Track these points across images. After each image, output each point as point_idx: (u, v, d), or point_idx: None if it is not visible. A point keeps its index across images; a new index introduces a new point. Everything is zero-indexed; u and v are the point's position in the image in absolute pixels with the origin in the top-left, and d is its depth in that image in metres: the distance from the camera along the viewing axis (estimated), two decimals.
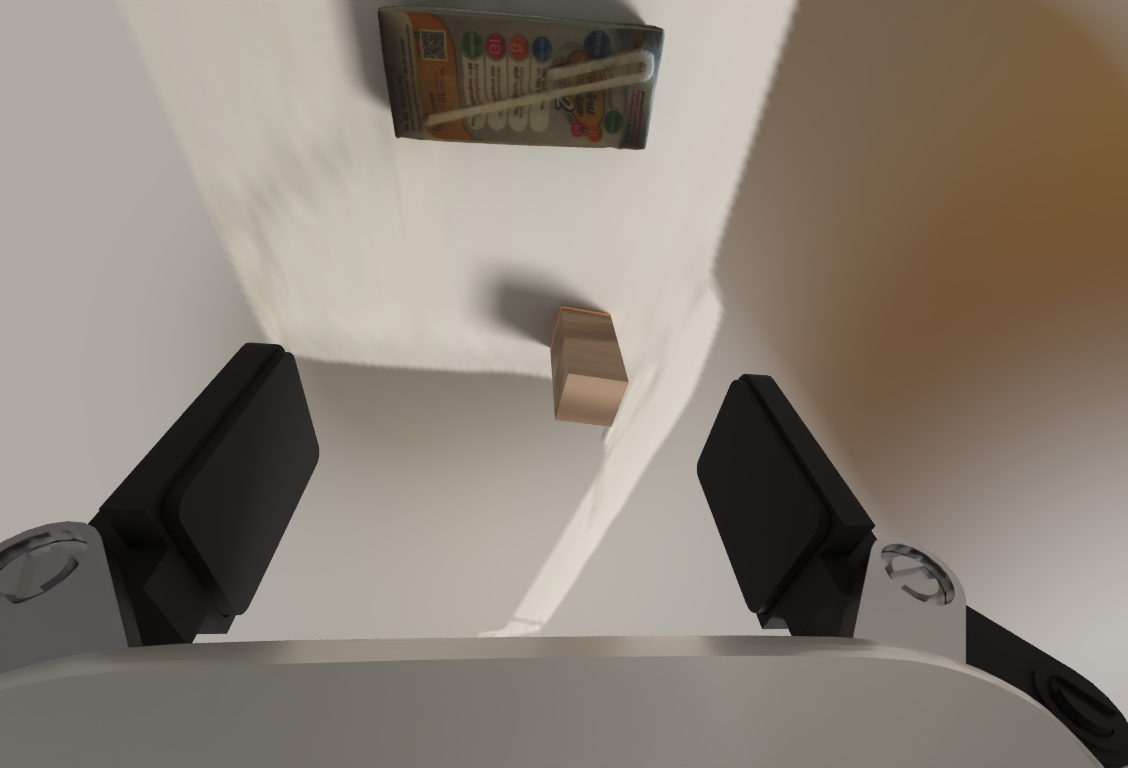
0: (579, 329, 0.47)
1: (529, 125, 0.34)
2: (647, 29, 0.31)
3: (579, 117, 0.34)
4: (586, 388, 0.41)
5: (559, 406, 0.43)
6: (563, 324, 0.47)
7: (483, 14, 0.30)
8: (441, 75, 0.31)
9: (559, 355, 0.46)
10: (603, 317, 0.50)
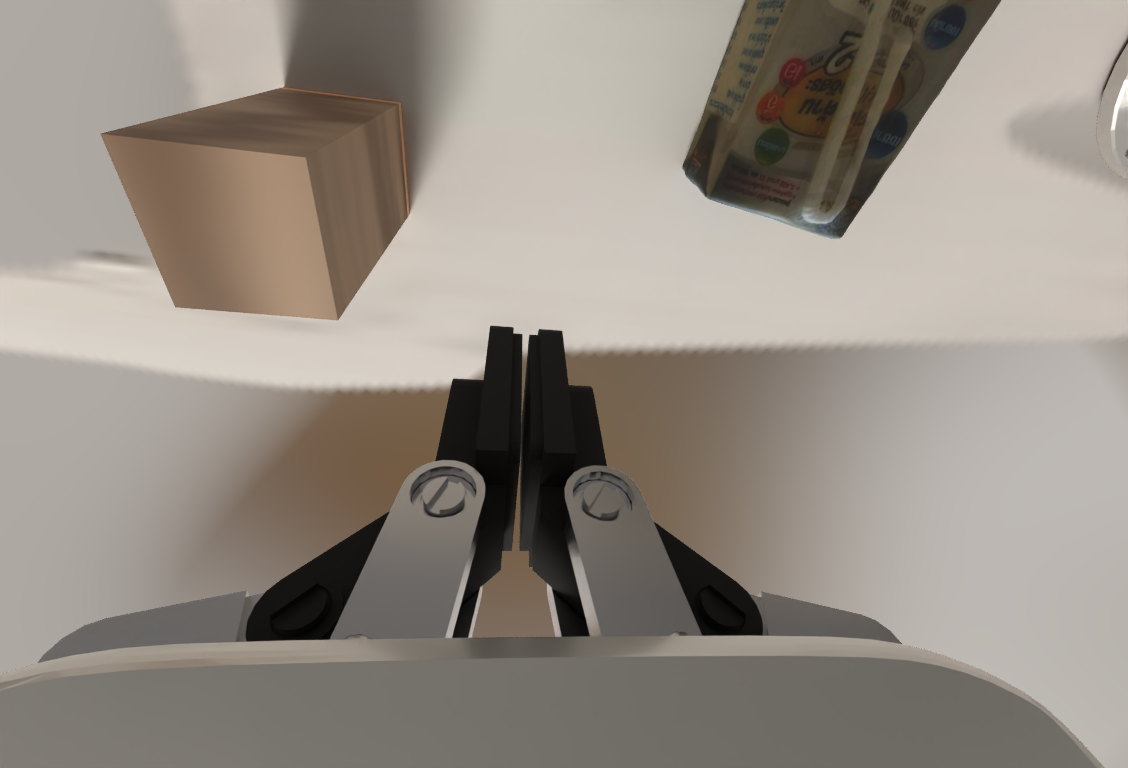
0: (382, 157, 0.21)
1: None
2: (854, 216, 0.22)
3: (808, 79, 0.19)
4: (275, 220, 0.15)
5: (165, 143, 0.13)
6: (379, 116, 0.20)
7: None
8: None
9: (305, 116, 0.18)
10: (404, 203, 0.25)
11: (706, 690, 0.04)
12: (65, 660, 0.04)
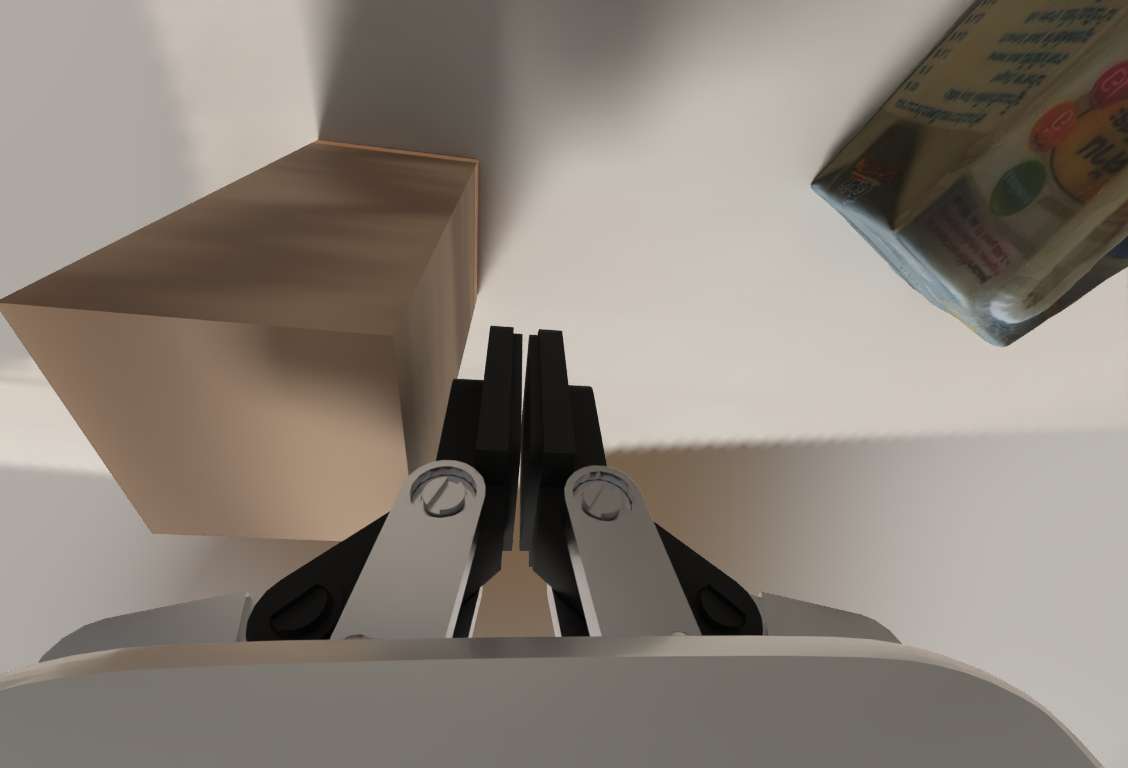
0: (462, 248, 0.14)
1: None
2: None
3: (1121, 106, 0.12)
4: (327, 425, 0.08)
5: (123, 315, 0.07)
6: None
7: None
8: None
9: (362, 205, 0.12)
10: (474, 290, 0.19)
11: (706, 691, 0.04)
12: (65, 660, 0.04)
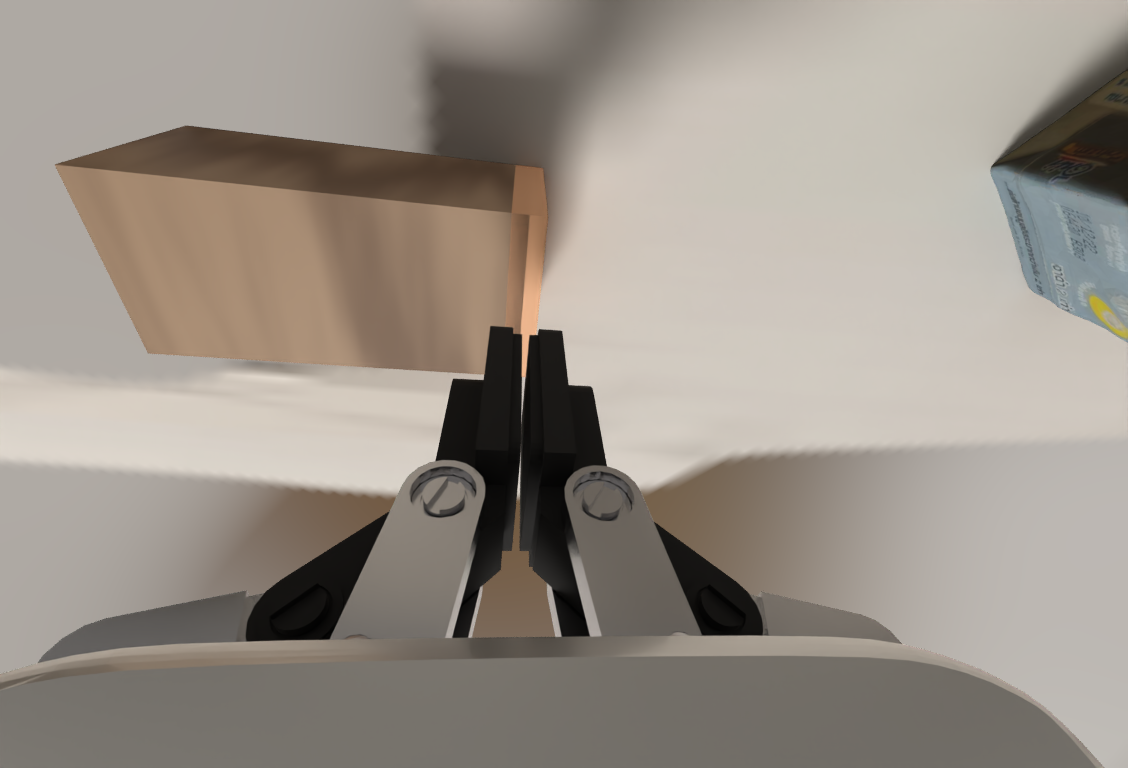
0: (392, 259, 0.13)
1: None
2: None
3: None
4: None
5: None
6: (406, 204, 0.12)
7: None
8: None
9: (335, 170, 0.14)
10: None
11: (706, 690, 0.04)
12: (66, 660, 0.04)
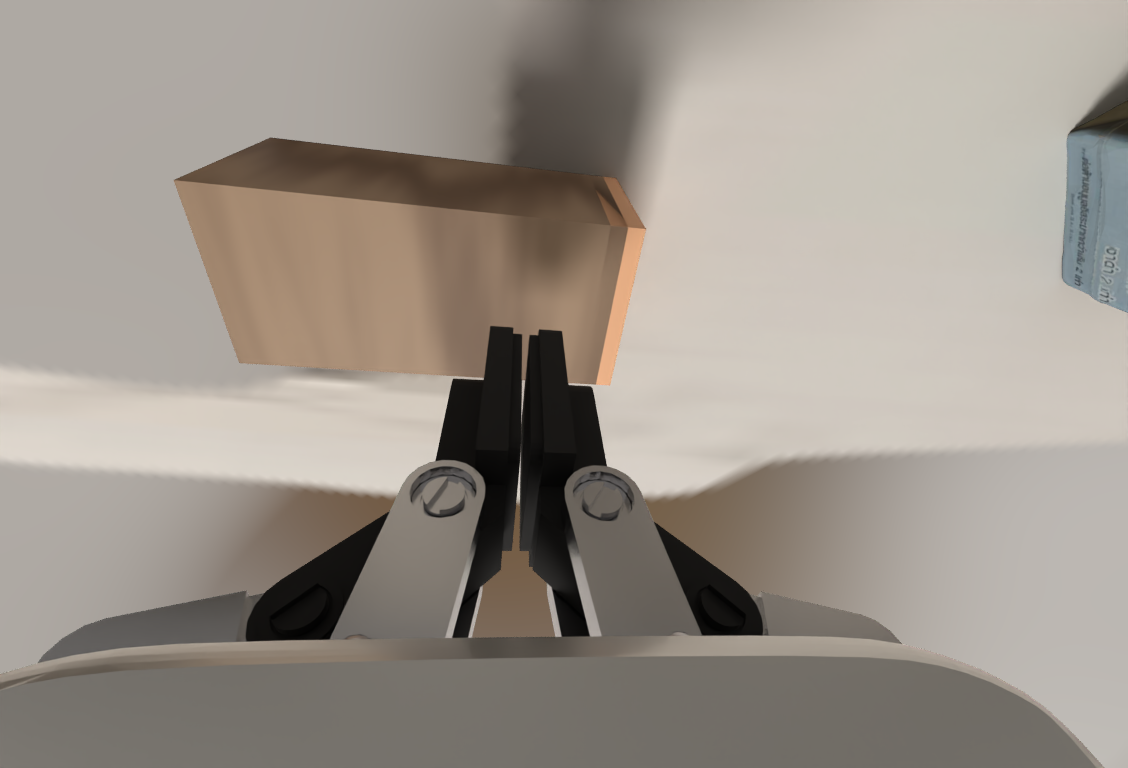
0: (489, 271, 0.13)
1: None
2: None
3: None
4: None
5: None
6: (509, 217, 0.13)
7: None
8: None
9: (429, 183, 0.14)
10: (584, 362, 0.16)
11: (706, 690, 0.04)
12: (65, 660, 0.04)
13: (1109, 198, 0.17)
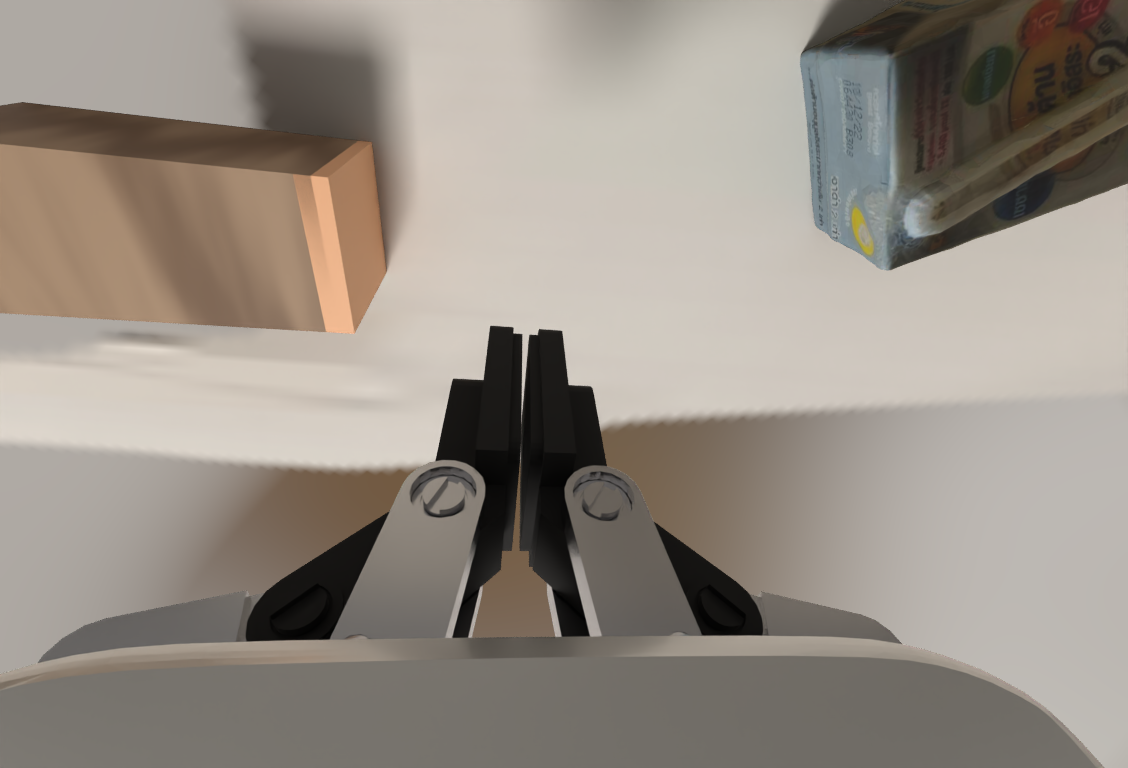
0: (191, 218, 0.14)
1: None
2: None
3: (1079, 40, 0.14)
4: None
5: None
6: (191, 166, 0.14)
7: None
8: None
9: (143, 139, 0.15)
10: (320, 310, 0.17)
11: (706, 690, 0.04)
12: (65, 660, 0.04)
13: (827, 121, 0.18)
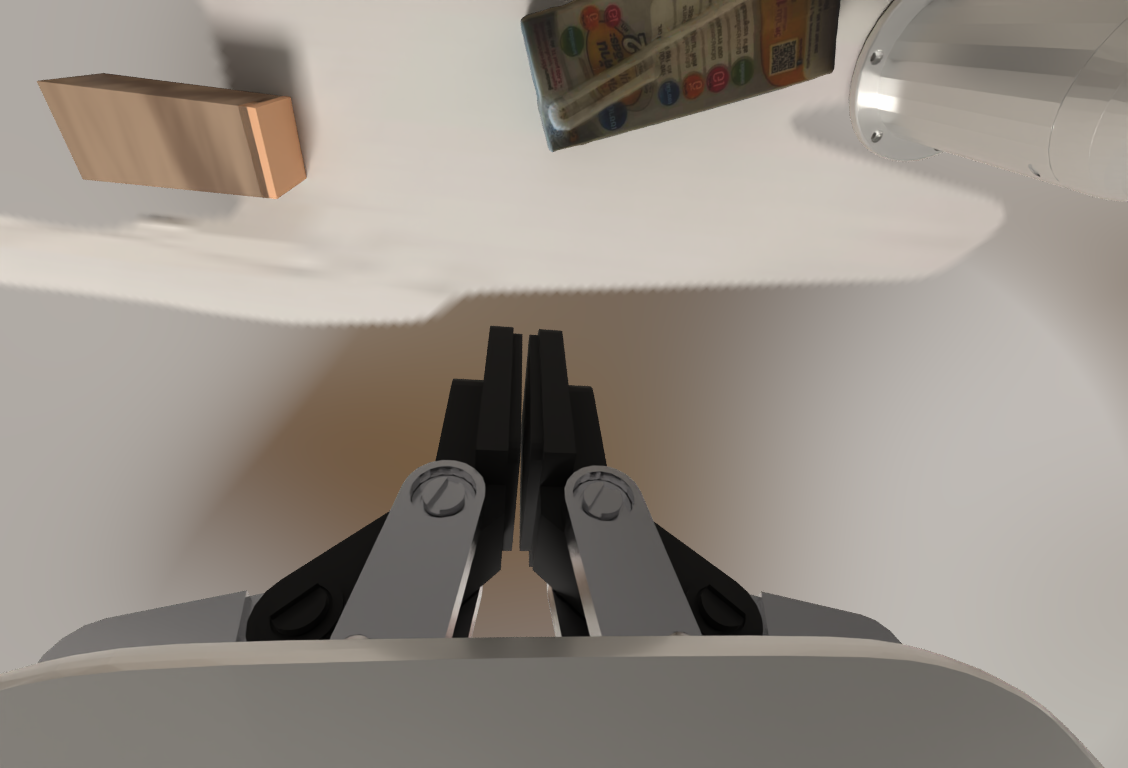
0: (189, 128, 0.29)
1: (672, 0, 0.27)
2: (567, 147, 0.32)
3: (614, 32, 0.28)
4: None
5: (87, 76, 0.31)
6: (189, 101, 0.29)
7: (728, 103, 0.30)
8: (778, 26, 0.28)
9: (166, 90, 0.30)
10: (257, 183, 0.32)
11: (706, 690, 0.04)
12: (65, 660, 0.04)
13: None
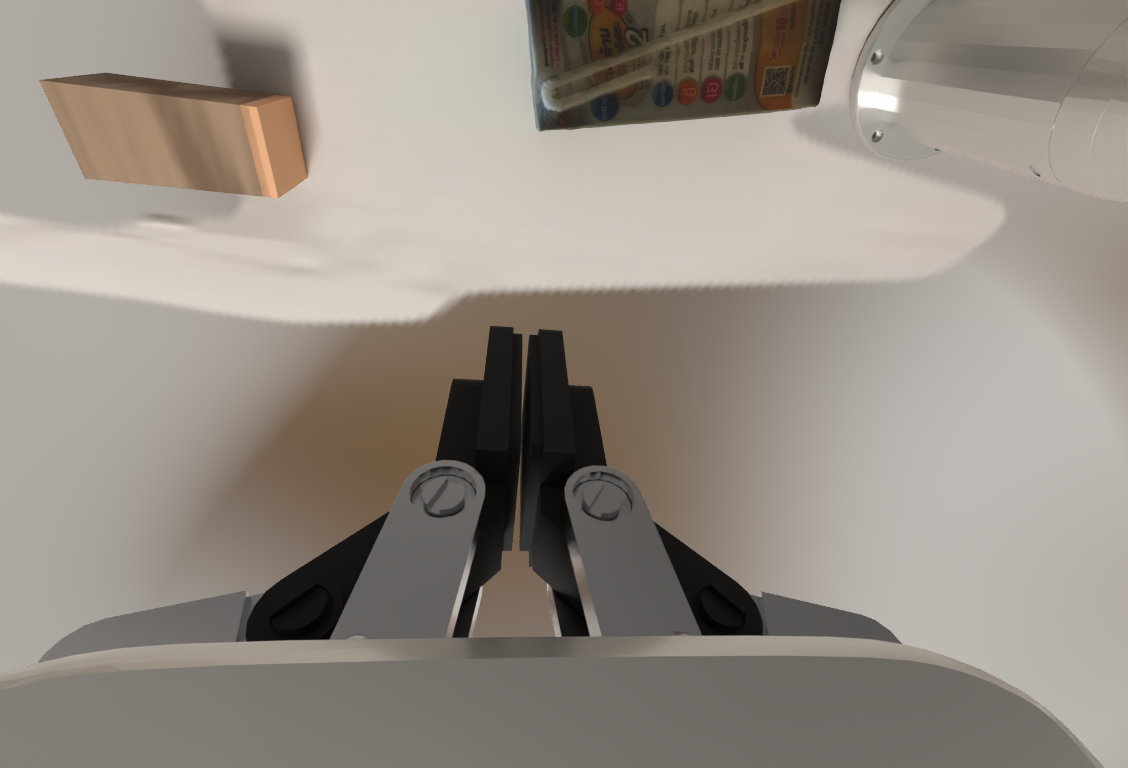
0: (191, 128, 0.30)
1: (679, 2, 0.27)
2: (555, 129, 0.31)
3: (618, 21, 0.28)
4: None
5: (89, 76, 0.31)
6: (191, 100, 0.29)
7: (717, 116, 0.31)
8: (774, 50, 0.28)
9: (168, 89, 0.30)
10: (258, 182, 0.32)
11: (706, 690, 0.04)
12: (66, 660, 0.04)
13: None
